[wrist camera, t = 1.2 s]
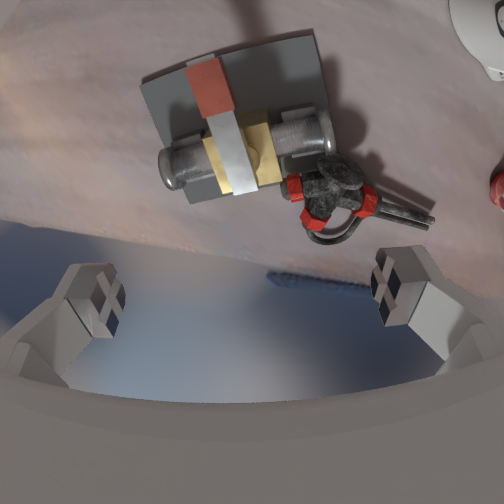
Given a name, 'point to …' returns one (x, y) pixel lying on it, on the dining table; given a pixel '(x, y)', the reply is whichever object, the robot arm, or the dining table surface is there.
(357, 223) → the valve
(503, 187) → the liquor
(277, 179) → the pipe valve
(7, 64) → the dining table surface
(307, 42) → the mat
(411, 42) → the dining table surface
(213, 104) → the lever
